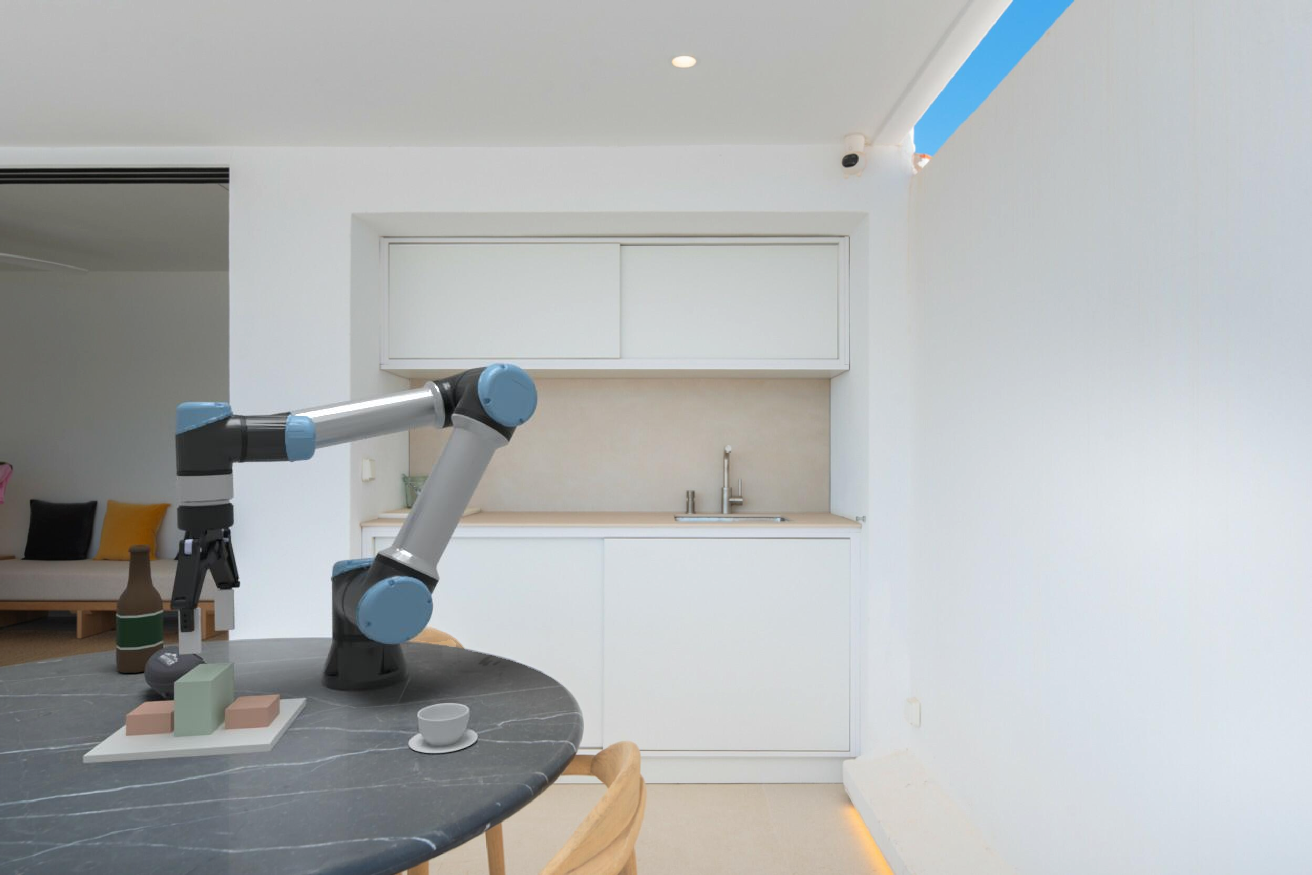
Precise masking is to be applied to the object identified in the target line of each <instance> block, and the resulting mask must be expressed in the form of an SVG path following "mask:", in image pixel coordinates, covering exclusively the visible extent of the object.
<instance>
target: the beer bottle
mask: <svg viewBox="0 0 1312 875" xmlns="http://www.w3.org/2000/svg"><path fill="white" fill-rule="evenodd" d="M151 548H152V547H151V546H150V545H148V544H136V545H131V546H129V548H128V551H127V552H128V553H129V563H128V566H129V567H128V577H127V578H128V580H127V583H126V584H127V585H126V587H125V589H124V590H123V592H122V593H121V594H120V596H119V598H118V600H117V603H116V609H115V610H116V611H115V635H116V636H115V644H116V645H115V654H116V655H115V660H116V661H115V662H116V670H117V671H119V672H121V673H122V674H127V673H128V674H129V673H135V674H137V673H142V672H145V666H146V663H147V661H148V660H149V658H150V657H151V656H152V655H153V654H154V653H156V652H157V651H159V650H161V649H163V648H164V606H163V605H164V604H163V600H162V597H161V594H160V593H159V591H158V589H157V588H156V587H155V586H154V584H153V581H152V570H151V568H152V567H151V557H150V556H151V555H150V552H151V551H152V549H151Z"/></svg>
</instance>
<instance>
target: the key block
mask: <svg viewBox="0 0 1312 875" xmlns="http://www.w3.org/2000/svg"><path fill="white" fill-rule="evenodd" d="M234 701H235V662H234V661H233V662H215V663H207V664H199V665H198V666H196V667H195V668H194V669H192V670H191V671H189V672H188V673H187V674H185V675H184V676H182V677H181V678H180V679H178V680H177V681H175V682H174V737H182V736H198V735H211V734H212V733H213V732H214V731H215V730H216V729H217V728H219V727H220V726H221V725H222V724H223V723H224V722H225V709H226V708H227V707H229V706H230V705H231V704H232V703H233V702H234Z"/></svg>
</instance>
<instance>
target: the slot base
mask: <svg viewBox="0 0 1312 875" xmlns="http://www.w3.org/2000/svg"><path fill="white" fill-rule="evenodd" d="M280 698H281V695H280V694H279V693H278V694H265V695H264V694H263V695H262V694H261V695H248V696H247V695H246V696H245V695H244V696H239V697H237V698H236V699H234V702H233V703H232V704H231V705H230V706H229V707H227V708H226V709H225V722H224V723H223V724H222V725H221V726H220V727H219V728H217V729H216V730H215V731H214V732H213V733H212V734H211V735H198V736H182V737H174V700H171V701H167V700H158V701H157V700H155V701H145V702H143V703H141V704H140V705H139V706H137V707H136V708H135V709H133V710H131V711H130V712H129V713H127V714H126V715H125V724H124V725H123V726H122V727H121V728H119V729H118V730H116V731H115V732H114V733H112V734H111V735H110V736H108V737H106V739H104V740H102V742H100V743H99V744H97V745H96V746H94V747H93V748H91V750H89V751H88V752H86V753H85V754H84V755H82V764H92V763H109V762H122V761H123V762H125V761H139V760H140V761H141V760H155V759H156V760H157V759H172V758H187V757H188V758H189V757H190V758H191V757H192V758H193V757H203V756H205V757H206V756H221V755H233V754H234V755H238V754H240V755H241V754H255V753H269V752H271V751H272V749H273V748H274V747H275V746H276V744H277V743H278V742H279V740H280V739H281V738H283V735H285V733H286V732H287V730H288V729H289V728H291V725H292V724H293V723H294V722H295V720H296V719H297V718H298V717H299V715H300V714H301V713H302V711H303V710H304V709H305V707H307V698H306V697H302V698H301V697H299V698H285V699H284V698H282V699H280Z"/></svg>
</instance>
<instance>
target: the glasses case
mask: <svg viewBox="0 0 1312 875" xmlns="http://www.w3.org/2000/svg"><path fill="white" fill-rule="evenodd" d="M199 664H208V663H206V661H204V659H203V657H201V656H199V655H198V654H197V653H196V654H179V646H176V645H169V646H166V647H163V649H161V650H159V651H157V652H156V653H154V654H153V655H152V656H151V657H150V658H149V660H148V661H147V663H146V666H145V671H143V672H144V674H143V675H144V680H145V682H146V683H147V685H148V686H149V687H150V688H151V689H152V690H155V692H156V693H157V694H158V695H160V696H161V697H163V699H164V700H165V701H171V700H174V682H175V681H177V680H178V679H180V678H181V677H182V676H184V675H185V674H187V673H188V672H189V671H191V670H192V669H194V668H195V667H196V666H198V665H199Z"/></svg>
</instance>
